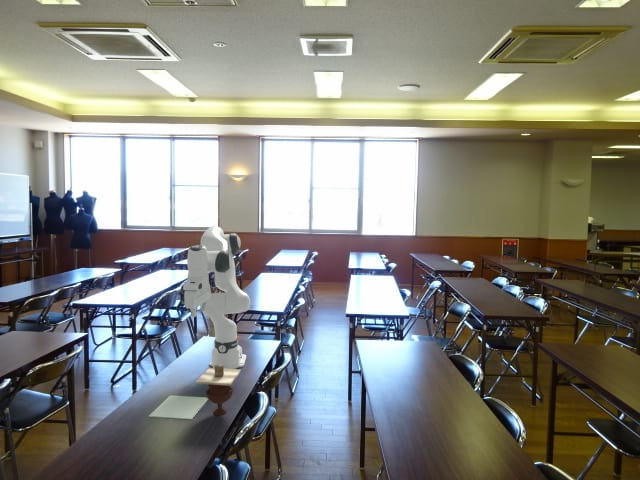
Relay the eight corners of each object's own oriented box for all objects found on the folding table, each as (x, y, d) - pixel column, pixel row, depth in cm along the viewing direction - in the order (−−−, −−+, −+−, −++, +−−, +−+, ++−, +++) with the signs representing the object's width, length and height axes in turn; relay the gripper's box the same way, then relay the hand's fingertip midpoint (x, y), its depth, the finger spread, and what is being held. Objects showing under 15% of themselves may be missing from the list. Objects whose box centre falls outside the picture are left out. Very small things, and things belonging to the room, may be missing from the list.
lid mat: (170, 396, 185) (170, 395, 185) (209, 398, 183) (209, 397, 183) (149, 416, 168) (148, 415, 168) (191, 419, 165) (191, 418, 165)
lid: (209, 369, 178) (209, 358, 177) (241, 371, 176) (240, 360, 176) (195, 383, 164) (195, 371, 163) (230, 385, 162) (230, 373, 162)
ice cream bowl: (227, 420, 165) (226, 383, 164) (201, 417, 167) (200, 381, 166) (237, 407, 175) (237, 373, 174) (213, 404, 178) (212, 370, 176)
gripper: (200, 278, 193) (201, 307, 194) (181, 287, 173) (182, 319, 174) (214, 278, 192) (214, 308, 193) (195, 287, 172) (196, 320, 173)
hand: (199, 313), depth 183 cm, fingers open, 8 cm apart
